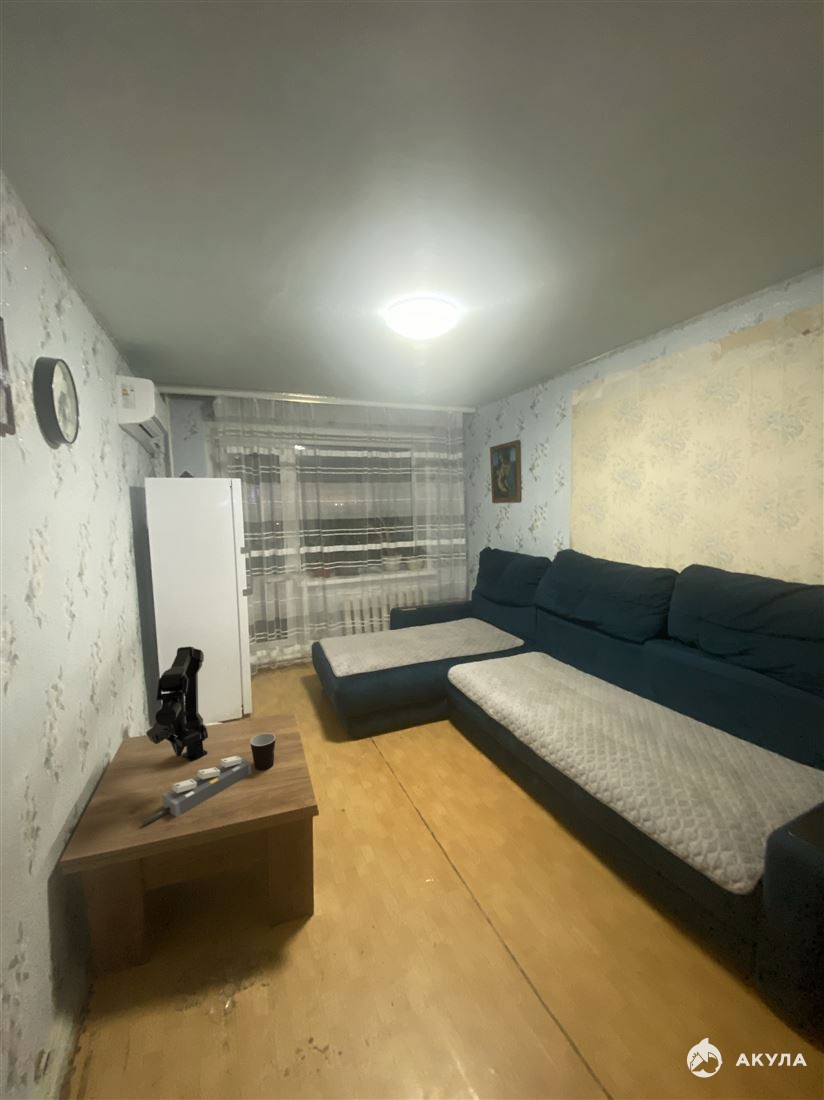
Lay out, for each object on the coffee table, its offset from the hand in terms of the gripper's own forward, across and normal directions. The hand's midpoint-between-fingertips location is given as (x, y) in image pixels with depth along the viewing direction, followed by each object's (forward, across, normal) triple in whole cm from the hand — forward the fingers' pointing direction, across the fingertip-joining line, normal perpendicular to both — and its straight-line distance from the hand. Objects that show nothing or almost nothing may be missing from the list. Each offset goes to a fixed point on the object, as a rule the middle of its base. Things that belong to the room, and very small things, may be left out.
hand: (178, 756), depth 145 cm
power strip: (+12, +8, +2) cm, 14 cm away
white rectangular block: (+6, +8, -3) cm, 10 cm away
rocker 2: (+6, +8, +5) cm, 11 cm away
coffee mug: (+12, +11, +25) cm, 30 cm away
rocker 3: (+6, +8, +13) cm, 17 cm away
